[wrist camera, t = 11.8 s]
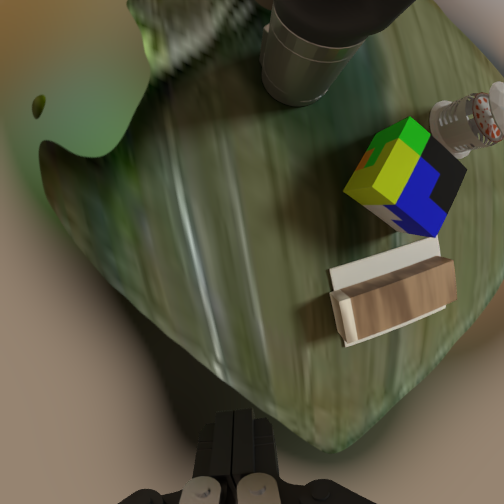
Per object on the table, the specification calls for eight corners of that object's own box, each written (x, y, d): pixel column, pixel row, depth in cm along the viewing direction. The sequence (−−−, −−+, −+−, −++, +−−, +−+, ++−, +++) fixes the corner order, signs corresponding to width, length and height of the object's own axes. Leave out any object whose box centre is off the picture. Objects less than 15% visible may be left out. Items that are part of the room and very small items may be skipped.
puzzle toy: (397, 231, 42) (435, 238, 32) (342, 191, 41) (371, 186, 31) (426, 175, 41) (467, 169, 31) (375, 133, 40) (409, 116, 30)
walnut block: (347, 343, 38) (457, 299, 38) (338, 301, 38) (453, 260, 38) (337, 331, 43) (440, 292, 43) (329, 292, 42) (436, 255, 42)
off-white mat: (344, 346, 44) (345, 347, 43) (328, 268, 42) (329, 269, 42) (444, 307, 44) (445, 307, 43) (435, 234, 42) (437, 234, 42)
